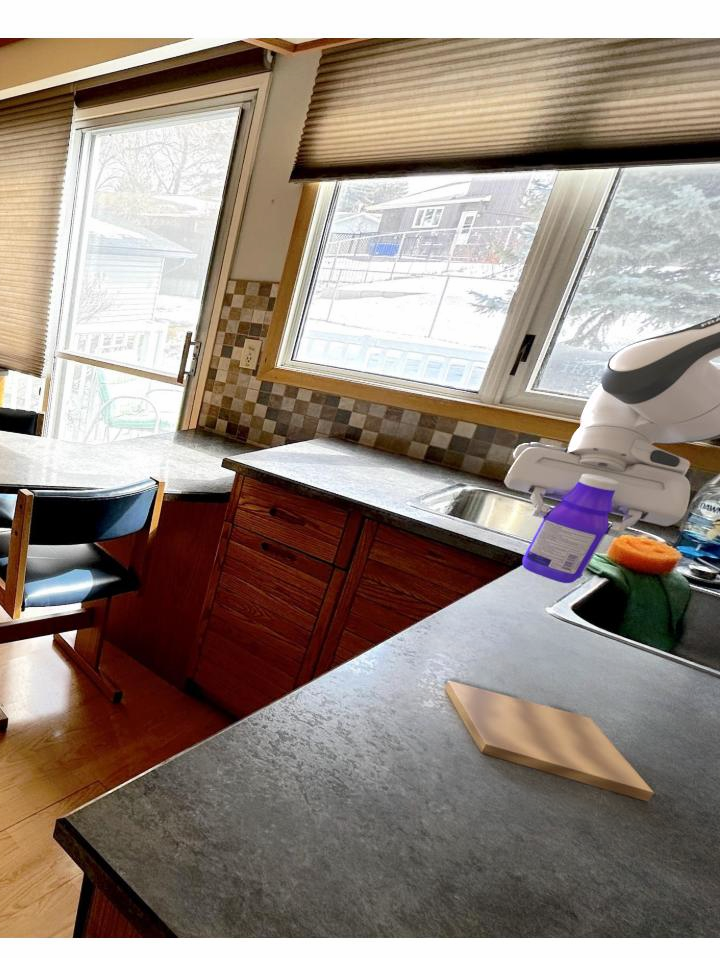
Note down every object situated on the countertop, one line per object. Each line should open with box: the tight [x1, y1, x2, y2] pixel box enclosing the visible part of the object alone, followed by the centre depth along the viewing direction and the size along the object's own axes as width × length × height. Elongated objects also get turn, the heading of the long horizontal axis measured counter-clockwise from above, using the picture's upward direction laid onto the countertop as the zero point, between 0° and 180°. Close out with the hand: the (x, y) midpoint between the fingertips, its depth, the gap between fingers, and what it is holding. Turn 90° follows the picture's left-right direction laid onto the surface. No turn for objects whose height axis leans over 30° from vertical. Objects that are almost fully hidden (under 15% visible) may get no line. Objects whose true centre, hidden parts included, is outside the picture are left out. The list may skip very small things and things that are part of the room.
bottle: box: [521, 474, 619, 584], centre depth 98 cm, size 7×6×17 cm
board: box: [444, 680, 655, 803], centre depth 81 cm, size 16×14×2 cm
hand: (575, 525), depth 97 cm, fingers closed on bottle, 7 cm apart
